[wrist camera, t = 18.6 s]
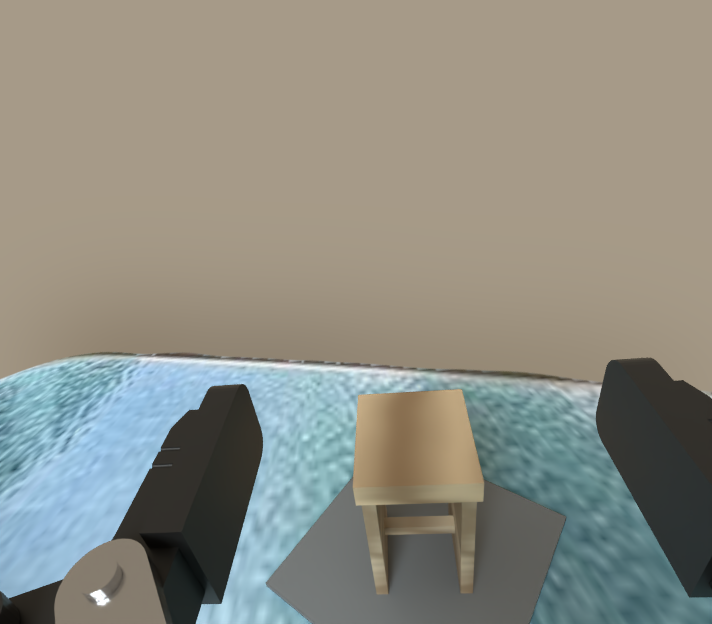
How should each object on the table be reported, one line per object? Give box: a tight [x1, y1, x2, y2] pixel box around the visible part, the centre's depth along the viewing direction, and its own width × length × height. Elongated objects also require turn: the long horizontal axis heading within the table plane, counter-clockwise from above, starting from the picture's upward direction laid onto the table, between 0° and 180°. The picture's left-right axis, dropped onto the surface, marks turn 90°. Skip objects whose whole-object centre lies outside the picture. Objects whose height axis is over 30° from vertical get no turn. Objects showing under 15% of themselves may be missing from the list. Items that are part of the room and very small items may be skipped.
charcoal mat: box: [266, 477, 566, 624], centre depth 32 cm, size 16×16×1 cm
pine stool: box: [353, 389, 484, 594], centre depth 29 cm, size 7×7×12 cm
